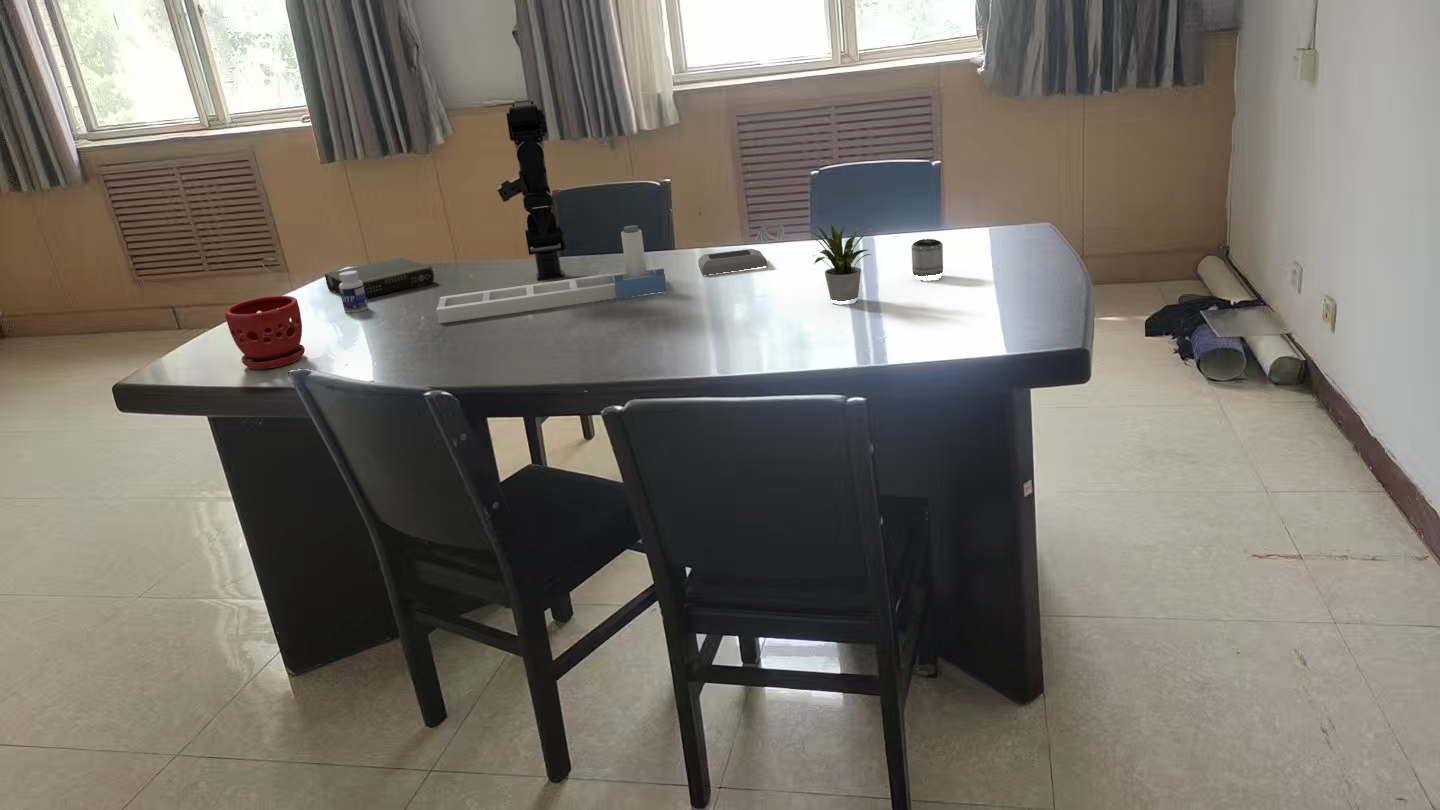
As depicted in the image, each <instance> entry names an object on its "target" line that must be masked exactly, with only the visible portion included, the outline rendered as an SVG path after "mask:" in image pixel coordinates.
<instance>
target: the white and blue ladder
mask: <svg viewBox="0 0 1440 810" xmlns="http://www.w3.org/2000/svg"><path fill="white" fill-rule="evenodd" d="M646 271H647V276H644V277H637V278H630V279H627V274H626V271H620V272H613V273H606V274H598V275H591V276H583V277H577V278H576V277H574V278H569V279H563V280H556V281H555V280H554V281H548V282H547V281H546V282H541V283H531V284H525V285H518V286H517V285H516V286H510V287H503V288H496V289H488V290H483V291H482V290H481V291H474V292H473V291H472V292H466V293H460V294H453V295H445V296H440V297H439V301H438V304H437V307H436V315H437V320H438V324H444V323H446V324H447V323H452V322H453V323H454V322H460V321H466V320H467V321H468V320H473V319H481V318H488V317H494V316H495V317H496V316H501V315H510V314H518V313H524V312H529V311H531V312H532V311H538V310H544V309H546V310H547V309H552V308H560V307H566V305H567V306H572V305H573V304H574V305H580V303H581V304H586V303H587V304H588V303H594V302H595V301H596V302H600V300H603V301H606V300H605V299H610V300H612V299H611V298H617V299H618V300H620V299H619V298H625V297H632V296H638V295H644V294H650V293H658V292H666V291H667V292H668V290H667V284H666V283H667V280H666V275H665V269H664V268H663V267H662V268H659V267H658V266H656V267H649V268H648V267H647V268H646ZM632 298H633V297H632ZM617 299H616V300H617ZM625 299H626V298H625ZM596 302H595V303H596Z"/></svg>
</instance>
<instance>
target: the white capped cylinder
mask: <svg viewBox="0 0 1440 810" xmlns="http://www.w3.org/2000/svg"><path fill="white" fill-rule="evenodd" d="M642 232H643V231H642V229H639V226H638V225H637V224H635V225H627V226H626V225H625V226H624V227H623V230H622V231H621V232H620V234H621V241H622V242H621V243H622V250H623V256H624V258H623V259H624V265H625V272H626V274H627V279H630V278H637V277H644V276H647V271H646V269H647V265H646V263H647V262H646V256H645V249H644V240H643V233H642Z"/></svg>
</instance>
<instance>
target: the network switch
mask: <svg viewBox="0 0 1440 810" xmlns="http://www.w3.org/2000/svg"><path fill="white" fill-rule="evenodd" d="M347 271H357V273H358V280H360V281H362V283H363V286H364V291H365V295H366V300H368V299H373V298H376V297H378V296H379V297H380V296H383V295H385V294H389V293H392V292H397V291H401V290H406V289H411V288H414V287H415V288H416V287H424V286H428V285H430V284H432V283H433V282H434V280H435V275H434V271H433V267H432V266H431V264H427V263H423V262H420V261H415V260H412V259H409V258H405V257H398V258H397V257H396V258H393V259H388V260H382V261H379V262H372V263H368V264H364V265H359V266H354V267H349V268H345V269H341V270H336V271H332V272H327V273H324V278H325V281H326V283H325V284H326V286H327V289H328V290H329V291H330V292H334V293H337V294H339V295H341V293H340V289H339V285H340V283H342V281H341V280H340V276H339V274H340V273H343V272H347Z"/></svg>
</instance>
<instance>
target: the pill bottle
mask: <svg viewBox="0 0 1440 810" xmlns="http://www.w3.org/2000/svg"><path fill="white" fill-rule="evenodd" d="M339 276H340V280H341V281H342V283H340V285H339V289H340V293H341V294H340V298H341V302H342V306H343V310H344V312H345V313H348V314H355V313H359V312H363V311H366V310H367V309H369V305H368V301H367V300H368V299H366V295H365V291H364V286H363V283H362V281H360V280H358V273H357V271H347V272H343V273H340V274H339Z"/></svg>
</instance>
